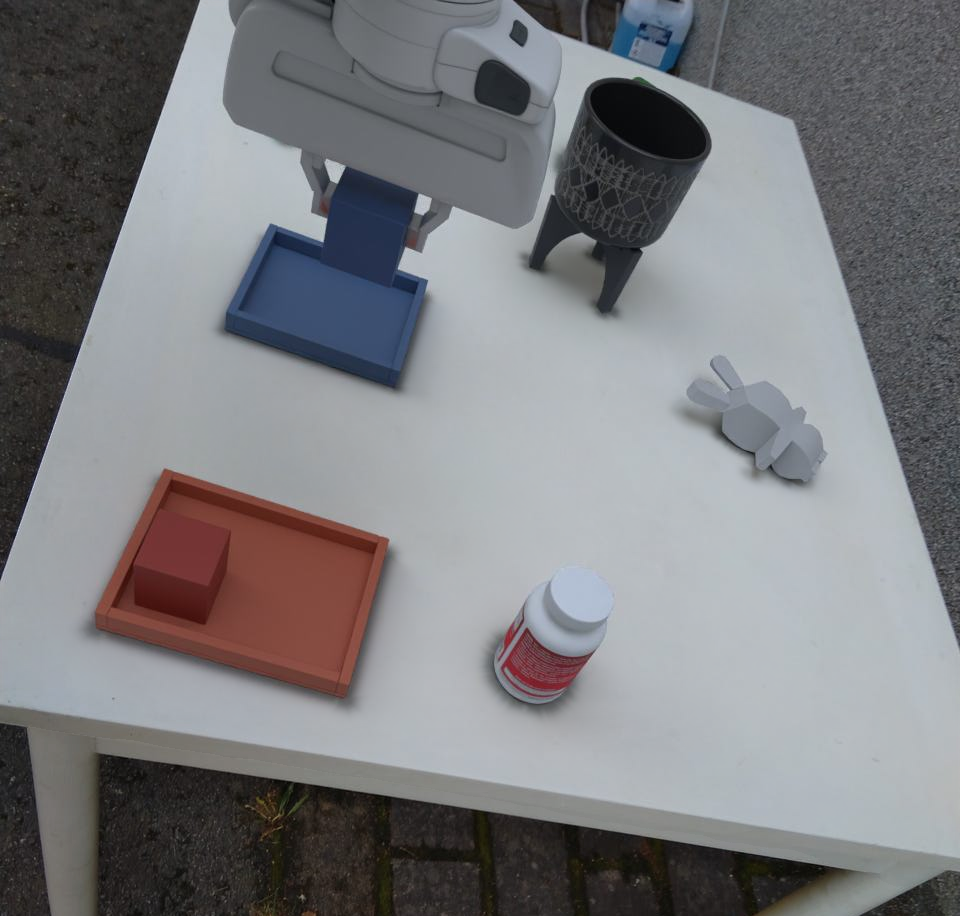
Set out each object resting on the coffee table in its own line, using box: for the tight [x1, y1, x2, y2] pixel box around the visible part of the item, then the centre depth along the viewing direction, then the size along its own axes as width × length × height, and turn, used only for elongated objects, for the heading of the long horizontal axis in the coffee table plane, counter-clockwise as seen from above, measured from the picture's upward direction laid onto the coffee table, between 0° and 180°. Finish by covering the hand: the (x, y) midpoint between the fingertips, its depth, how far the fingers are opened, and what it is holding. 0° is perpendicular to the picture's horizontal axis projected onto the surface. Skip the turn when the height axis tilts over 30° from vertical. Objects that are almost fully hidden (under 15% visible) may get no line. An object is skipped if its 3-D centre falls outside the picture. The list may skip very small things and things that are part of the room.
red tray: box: [94, 468, 390, 699], centre depth 68 cm, size 18×14×2 cm
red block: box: [133, 509, 231, 625], centre depth 65 cm, size 5×5×5 cm
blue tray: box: [224, 222, 429, 388], centre depth 86 cm, size 16×14×2 cm
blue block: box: [320, 166, 420, 288], centre depth 63 cm, size 5×5×5 cm
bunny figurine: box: [685, 354, 829, 484], centre depth 93 cm, size 10×5×15 cm
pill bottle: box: [493, 565, 615, 705], centre depth 68 cm, size 6×6×11 cm
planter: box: [528, 76, 713, 313], centre depth 94 cm, size 13×13×18 cm
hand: (369, 229), depth 63 cm, fingers closed on blue block, 5 cm apart
